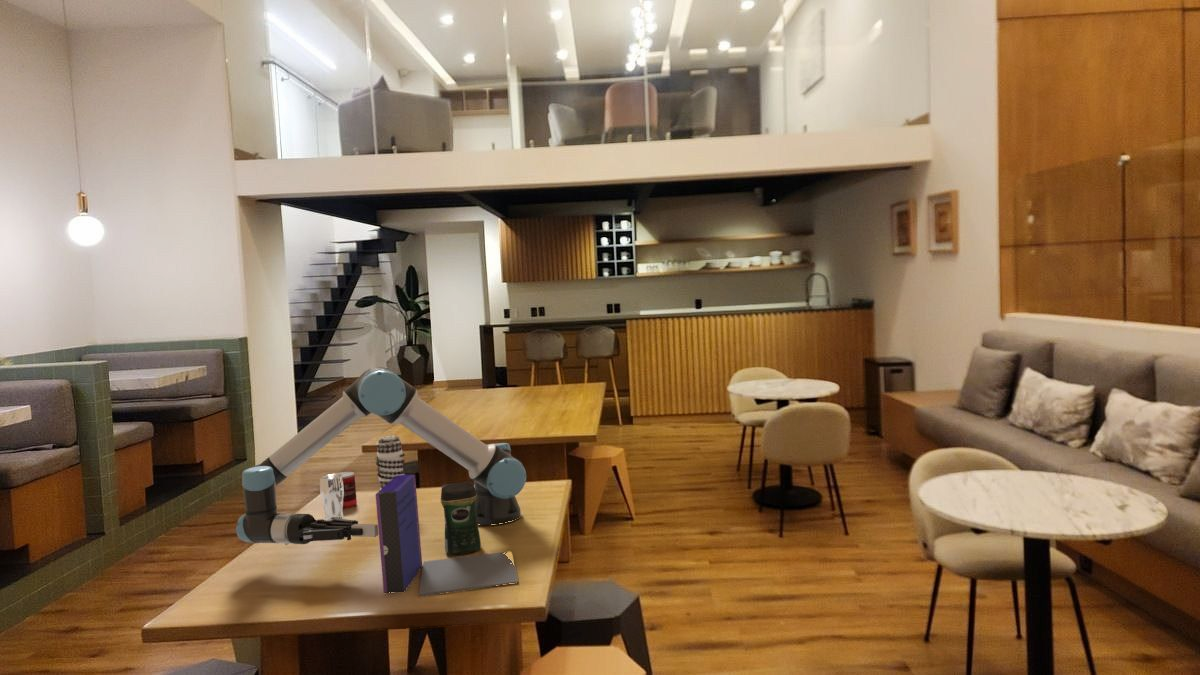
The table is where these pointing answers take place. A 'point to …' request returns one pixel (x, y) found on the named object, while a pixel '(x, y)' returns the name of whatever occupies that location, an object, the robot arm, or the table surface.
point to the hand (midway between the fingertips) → (376, 530)
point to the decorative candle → (389, 459)
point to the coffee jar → (460, 518)
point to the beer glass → (332, 495)
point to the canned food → (349, 489)
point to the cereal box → (399, 533)
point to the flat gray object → (466, 573)
